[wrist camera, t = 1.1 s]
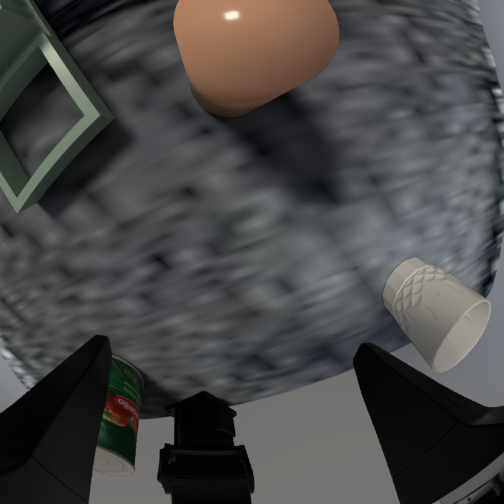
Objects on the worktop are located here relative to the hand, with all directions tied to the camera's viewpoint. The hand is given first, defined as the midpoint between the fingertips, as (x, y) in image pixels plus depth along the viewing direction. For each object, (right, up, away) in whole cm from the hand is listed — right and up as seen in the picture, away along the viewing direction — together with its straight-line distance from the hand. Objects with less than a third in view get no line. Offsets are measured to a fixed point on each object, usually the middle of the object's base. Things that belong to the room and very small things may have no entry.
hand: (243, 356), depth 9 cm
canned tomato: (-15, -10, +16) cm, 25 cm away
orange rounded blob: (-1, +15, +8) cm, 17 cm away
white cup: (+17, 0, +18) cm, 25 cm away
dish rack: (-19, +17, +4) cm, 26 cm away
